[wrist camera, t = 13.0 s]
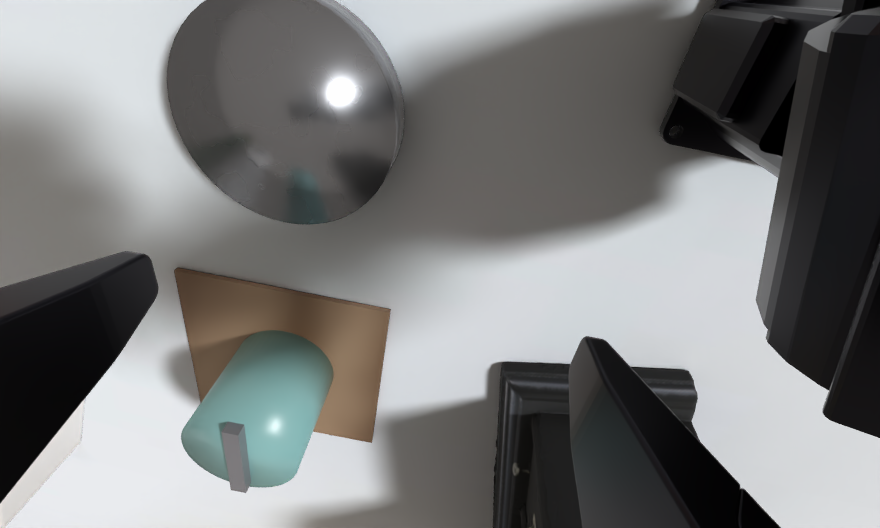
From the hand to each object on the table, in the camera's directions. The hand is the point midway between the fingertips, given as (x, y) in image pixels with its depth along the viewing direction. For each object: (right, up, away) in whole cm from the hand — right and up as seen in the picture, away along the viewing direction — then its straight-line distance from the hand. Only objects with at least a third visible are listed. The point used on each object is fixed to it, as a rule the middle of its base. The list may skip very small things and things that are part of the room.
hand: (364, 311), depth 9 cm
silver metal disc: (-4, +8, +10) cm, 13 cm away
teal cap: (-8, -5, +18) cm, 21 cm away
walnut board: (-8, -5, +19) cm, 21 cm away
